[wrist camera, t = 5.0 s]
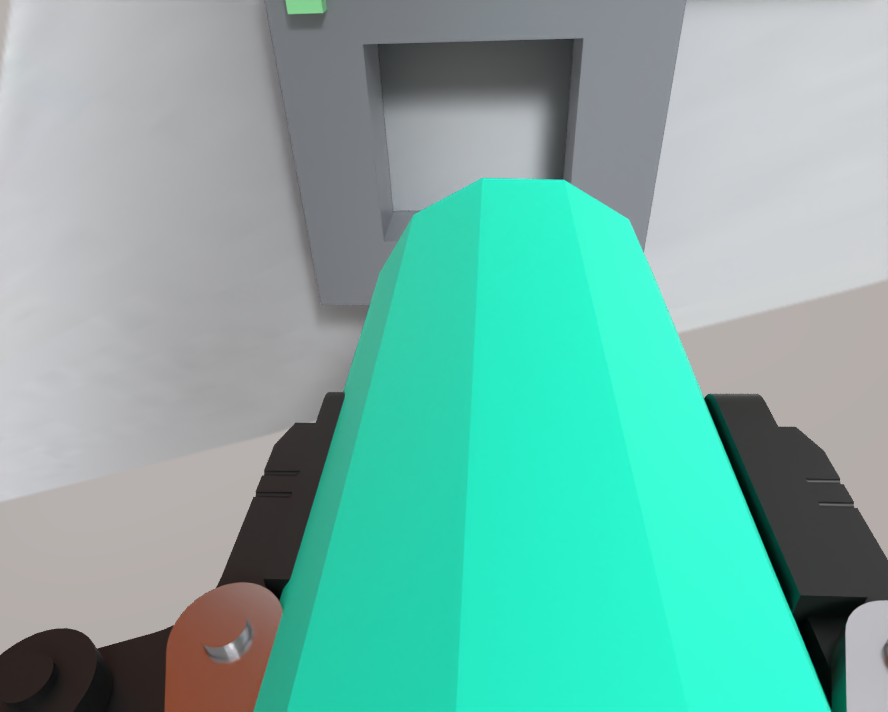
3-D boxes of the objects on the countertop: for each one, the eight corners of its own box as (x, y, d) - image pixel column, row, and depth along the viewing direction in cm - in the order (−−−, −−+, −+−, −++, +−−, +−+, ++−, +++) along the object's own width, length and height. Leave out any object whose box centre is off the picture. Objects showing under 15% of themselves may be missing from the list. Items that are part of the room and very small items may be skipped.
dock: (278, -69, 23) (247, -60, 20) (677, -86, 22) (704, -79, 19) (334, 272, 31) (317, 312, 28) (623, 272, 30) (636, 314, 27)
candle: (590, 436, 16) (734, 1282, 6) (355, 378, 15) (113, 1216, 6) (709, 221, 12) (1472, 1398, 3) (410, 136, 12) (21, 1251, 2)
